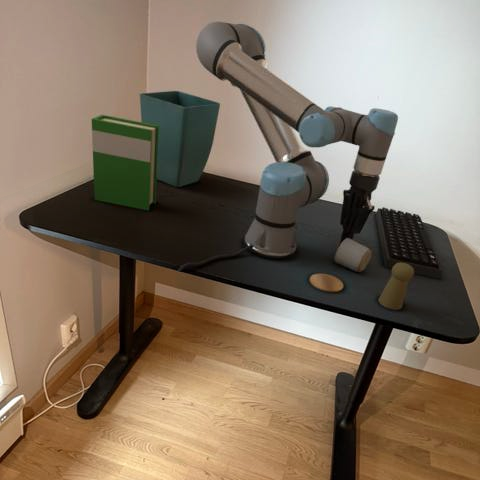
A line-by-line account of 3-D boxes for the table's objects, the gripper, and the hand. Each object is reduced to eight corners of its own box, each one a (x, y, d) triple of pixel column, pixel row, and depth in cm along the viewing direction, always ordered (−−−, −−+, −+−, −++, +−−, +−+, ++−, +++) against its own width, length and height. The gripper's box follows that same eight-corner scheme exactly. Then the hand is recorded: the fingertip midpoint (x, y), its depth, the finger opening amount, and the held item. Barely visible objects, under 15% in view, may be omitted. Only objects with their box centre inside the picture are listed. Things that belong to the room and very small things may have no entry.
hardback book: (155, 202, 148) (159, 125, 134) (148, 210, 142) (151, 130, 128) (103, 192, 149) (102, 114, 135) (94, 199, 143) (91, 118, 129)
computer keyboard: (438, 278, 132) (443, 267, 130) (384, 266, 133) (389, 255, 131) (417, 223, 169) (421, 213, 167) (375, 214, 170) (379, 205, 168)
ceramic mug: (357, 277, 125) (366, 252, 121) (331, 265, 129) (339, 240, 124) (371, 266, 133) (380, 242, 128) (347, 255, 136) (354, 232, 132)
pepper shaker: (403, 302, 117) (419, 264, 111) (400, 312, 113) (416, 274, 106) (380, 294, 119) (394, 257, 113) (376, 304, 114) (391, 266, 108)
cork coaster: (319, 293, 115) (319, 291, 114) (304, 275, 121) (304, 274, 121) (349, 291, 118) (349, 290, 117) (332, 274, 124) (333, 272, 124)
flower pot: (178, 193, 158) (185, 106, 142) (136, 177, 166) (138, 92, 150) (212, 183, 173) (221, 103, 157) (172, 168, 180) (177, 90, 164)
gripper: (391, 181, 118) (364, 261, 131) (365, 165, 127) (342, 241, 141) (367, 180, 115) (342, 262, 128) (342, 164, 125) (321, 241, 138)
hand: (342, 251), depth 135 cm, fingers closed
